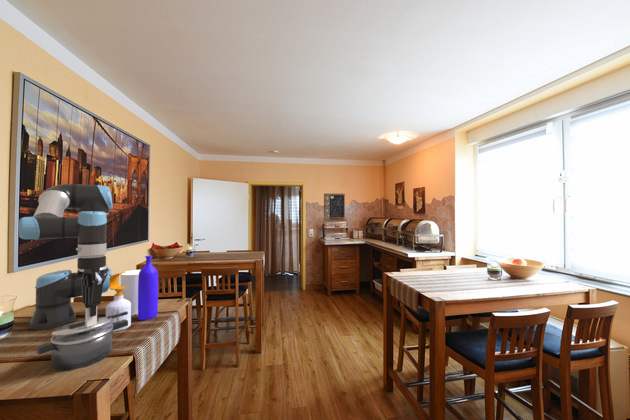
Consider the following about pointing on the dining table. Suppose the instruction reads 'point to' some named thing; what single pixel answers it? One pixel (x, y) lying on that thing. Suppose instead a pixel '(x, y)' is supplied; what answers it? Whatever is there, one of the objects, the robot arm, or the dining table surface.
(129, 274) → the canister
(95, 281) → the robot arm
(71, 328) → the lid
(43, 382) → the dining table surface
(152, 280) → the bottle
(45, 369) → the dining table surface
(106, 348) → the pot
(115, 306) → the soap bottle
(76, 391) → the dining table surface
